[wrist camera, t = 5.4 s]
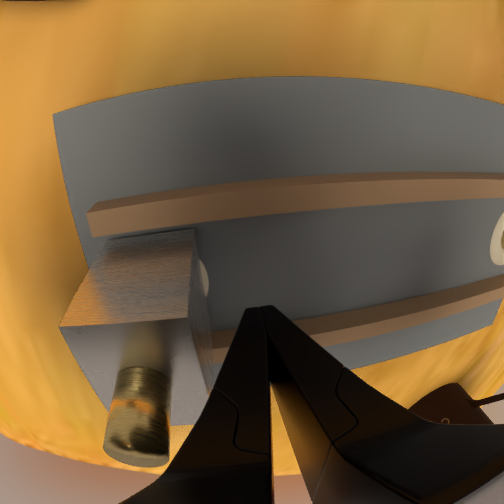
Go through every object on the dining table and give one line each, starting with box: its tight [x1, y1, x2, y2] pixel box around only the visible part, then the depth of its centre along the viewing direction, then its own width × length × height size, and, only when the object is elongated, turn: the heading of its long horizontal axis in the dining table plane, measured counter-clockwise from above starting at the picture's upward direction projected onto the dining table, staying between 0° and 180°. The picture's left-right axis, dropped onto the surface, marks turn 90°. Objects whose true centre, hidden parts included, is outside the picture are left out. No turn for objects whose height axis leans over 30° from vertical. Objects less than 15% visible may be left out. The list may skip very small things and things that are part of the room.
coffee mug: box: [409, 383, 504, 425], centre depth 17 cm, size 12×9×10 cm
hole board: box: [53, 76, 504, 385], centre depth 12 cm, size 21×13×2 cm, turn 94°
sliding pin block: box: [58, 229, 214, 467], centre depth 8 cm, size 3×4×6 cm
